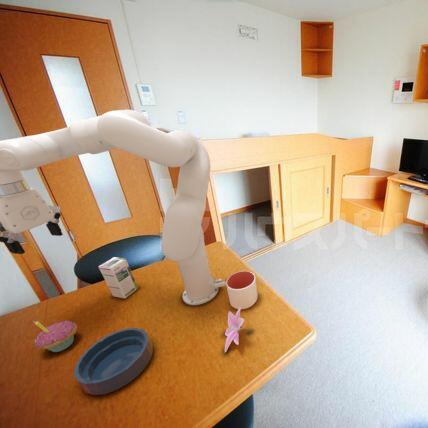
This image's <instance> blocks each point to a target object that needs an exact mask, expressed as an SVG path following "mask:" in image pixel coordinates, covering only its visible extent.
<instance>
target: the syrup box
mask: <svg viewBox="0 0 428 428" xmlns="http://www.w3.org/2000/svg"><path fill="white" fill-rule="evenodd" d="M98 269H99V272H100V273H101V275H102V277H103V279H104V281H105V283H106V285H107V287H108V288H109V291H110V293H111V295H112V296H113V297H115V298H119V299H127V298H128V297H129V296H131V294H133V293H134V292H136V291H137V290H138V289H139V286H138V284H137V282H136V280H135V277H134V275H133V272H132V270H131V268H130V266H129V263H128V261H127V259H126V258H124V257H118V256H117V257H116V256H113V257H111V259H109V260H107V261H105V262H103V263H101V264H100V265H98Z"/></svg>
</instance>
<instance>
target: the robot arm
mask: <svg viewBox="0 0 428 428" xmlns="http://www.w3.org/2000/svg"><path fill="white" fill-rule="evenodd" d="M69 124H70V125H69V126H66V127H63V128H59V129H56V130H52V131H47V132H43V133H38V134H32V135H26V136H20V137H15V138H9V139H3V140H0V233H1V234H0V243H2V244H4V246H5V247H6V248H7V250H8V251H9V252H10V253H12V254H14V255H23V254H25V253H26V251H25V249H24V247H23V245H22V244H21V243H20V241H18V240H16V237H17V235H18V234H21V233H25V232H27V231H30V230H32V229H34V228H36V227H39V226H42V225H44V224H45V226H46V228H47V229H48V231H49V233H50V235H51V236H56V237H61V236H63V235H64V233H63V232H62V228H61V227H60V225H59V223H60V217H61V206H60V205H49V204H48V203H47V202H46V200H45V199H44V197H43V196H42V195H41V194H40V193H39V192H38V191H37V190H36V189H35V188H34V187H30V186H29V184H28V182H27V180H26V178H25V176H24V175H23V173H22V172H25V171H30V170H31V171H32V170H33V169H36V168H40V167H43V166H46V165H48V164H52V163H56V162H58V161H62V160H66V159H69V158H73V157H77V156H80V155H86V154H90V155H98V154H102V153H106V152H108V151H113V150H116V149H119V150H121V151H125V152H126V153H128V154H131V155H134V156H137V157H139V158H142V159H145V160H147V161H150V162H153V163H155V164H157V165H161V166H163V167H167V168H178V167H179V173H178V177H177V187H176V191H175V196H174V197H173V199H172V201H171V202H170V203H169V205H168V207H167V208H166V211H165V215H164V220H163V225H162V226H163V227H162V236H161V245H160V246H161V247H160V248H161V252H162V254H163V256H164V257H165V258H166V259H168V260H169V261H171V262H175V263H177V266H178V270H179V273H180V276H181V280H182V283H183V284H182V285H183V287H184V291H183V293H182V300H183V303H184V304H186V305H188V306H199V305H203V304H206V303H208V302H209V301H211V300H213V299H214V298H215V297H216V296H217V295H218V293H219V291H220V290H219V289H220V288H224V287H227V286H226V280H223V278H218V279H215V277H214V276H213V275H212V273H211V268H210V263H209V259H208V254H207V250H206V249H207V248H206V244H205V235H204V229H203V226H202V222H203V218H204V215H205V212H206V209H207V208H206V205H207V196H208V192H209V183H210V175H211V159H210V156H209V154H208V151H207V149H206V147H205V145H204V144H203V143H202V141H201V140H200V139H199V138H197V137H196V136H195V135H193V134H192V133H190V132H188V131H185V130H179V129H175V130H171V131H169V132H165V131H164V130H163V131H162V130H161V129H159V128H156V127H154V126H152V124H151V122H150V120H149V119H148V117H146V116H145V115H144V114H143V113H141V112H139V111H137V110H134V109H118V110H117V109H116V110H109V111H107V112H105V113H102V114H100V115H96V116H92V117H89V118H88V117H87V118H83V119H79V120H75V121H73V122H71V123H69Z"/></svg>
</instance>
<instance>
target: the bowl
mask: <svg viewBox="0 0 428 428" xmlns="http://www.w3.org/2000/svg"><path fill="white" fill-rule="evenodd" d="M153 353H154V347H153V343H152V342H151V339H150V336H149V334H148V333H147V332H146V331H145V330H144V329H142V328H138V327H126V328H123V329H119V330H116V331H114V332H112V333H109V334H107V335H106V336H103V337H102V338H100V339H99V340H97V341H96V342H94V343H93V344H92V345H91V346H90V347H89V348H88V349H86V350H85V351H84V353H82V355H81V356H80V357H79V358H78V360H77V363H76V364H75V366H74V368H73V369H74V371H73V376H74V378H75V379H76V381H77V383H78V384H79V386H80V387H81V388H82V389H83V392H84V393H86V394H89V395H91V396H100V395H101V396H102V395H107V394H110V393H113V392H116V391H118V390H119V389H121V388H123V387H125V386H127V385H128V384H129V383H131V382H132V381H133V380H135V379H136V378H137V377H139V375H140V374H141V373H142V372H143V371H144V370H145V369H146V368H147V367H148V365H149V363H150V361H151V359H152V357H153Z"/></svg>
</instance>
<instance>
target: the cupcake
mask: <svg viewBox="0 0 428 428" xmlns="http://www.w3.org/2000/svg"><path fill="white" fill-rule="evenodd" d="M32 323H34V325H35V326H37V327H38V328H40V329H41V330H42V331H41V332H39V333H38V334H37V335H36V338H35V339H34V343H33V344H34V346H35V347H36V348H37V349H39V350H48V351H50V352H52V353H58V352H62V351H64V350H65V349H68V348H70V346H71V345H72V344H73V343H74V340H75V339H74V337H75V336H74V335H76V332H77V330H78V325H77V324H76V323H75V322H74V321H70V320H63V321H59V322H55V323H52V324H50V325H48V326H47V327H45V326H44V325H42V324H41V323H40V322H39V321H35V320H33V321H32Z"/></svg>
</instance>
